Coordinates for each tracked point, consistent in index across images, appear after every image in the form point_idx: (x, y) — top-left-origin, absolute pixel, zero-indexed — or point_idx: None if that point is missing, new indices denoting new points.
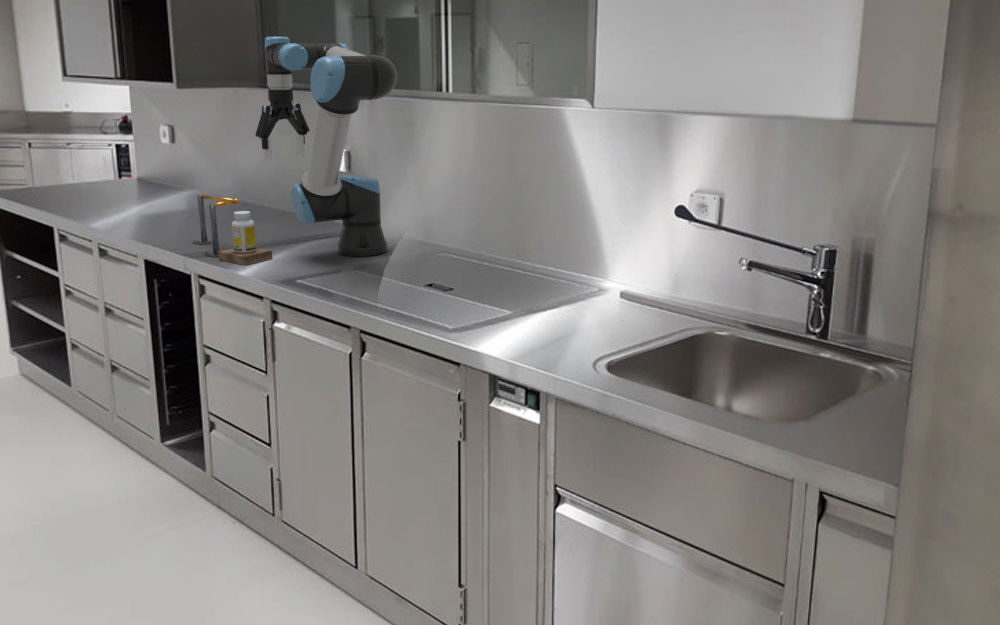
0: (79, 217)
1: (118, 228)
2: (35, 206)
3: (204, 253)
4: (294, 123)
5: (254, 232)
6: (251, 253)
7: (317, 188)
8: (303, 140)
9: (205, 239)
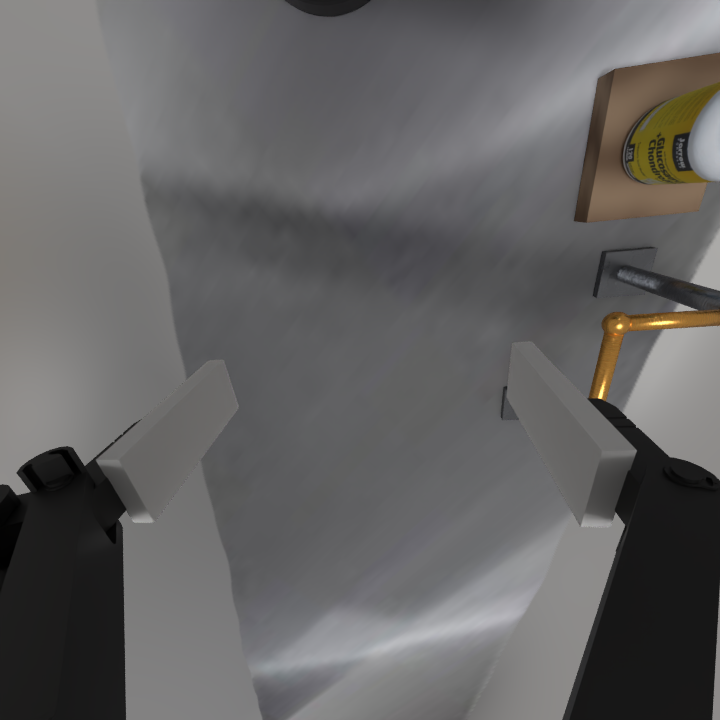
0: (480, 656)
1: (508, 583)
2: (462, 715)
3: (643, 292)
4: (80, 632)
5: (704, 89)
6: (685, 89)
7: None
8: (138, 423)
9: None
